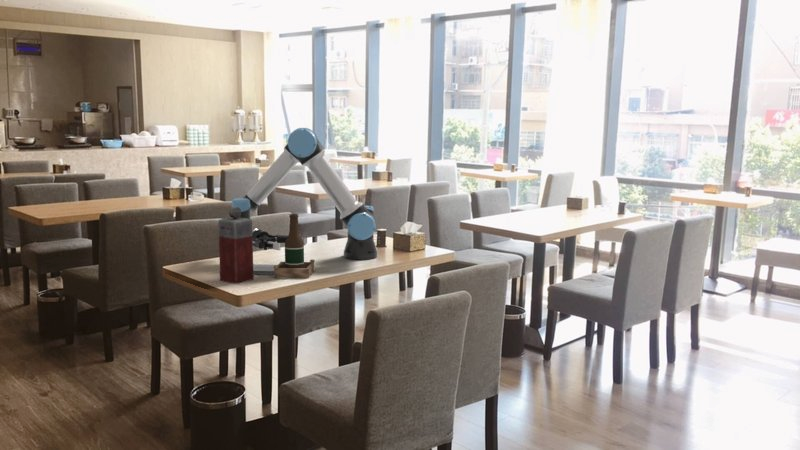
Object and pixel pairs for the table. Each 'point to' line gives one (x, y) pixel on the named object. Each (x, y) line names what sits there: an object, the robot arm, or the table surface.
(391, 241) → the table surface
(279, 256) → the table surface
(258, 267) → the trivet
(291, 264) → the beer bottle
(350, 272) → the table surface
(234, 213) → the red square bottle
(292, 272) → the wooden tray
